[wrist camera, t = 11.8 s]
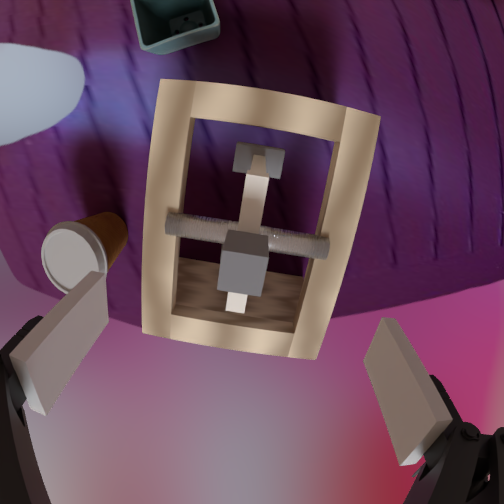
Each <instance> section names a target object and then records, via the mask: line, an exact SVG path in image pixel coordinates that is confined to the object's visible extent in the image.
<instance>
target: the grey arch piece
mask: <svg viewBox="0 0 504 504" xmlns="http://www.w3.org/2000/svg"><path fill="white" fill-rule="evenodd" d="M284 155H285V150H284V149H281V148H275V147H269V146H263V145H257V144H251V143H245V142H237V145H236V151H235V157H234V164H233V171H234V172H241V173H247V174H246V179H245V186H244V192H243V198H242V204H241V211H240V217H239V224H238V230H237V231H236V230H230V229H228V231H227V234H226V238H225V241H224V244H222V248H221V256H220V260H221V261H220V269H219V277H218V285H217V290H221V291H227V292H228V297H227V304H226V310H225V311H231V312H237V313H244V312H245V307H246V301H247V296H248V295H252V296H259V297H261V293H262V288H263V284H264V279H265V274H266V269H267V264H268V259H269V245H268V236H267V235H261V234H259V231H260V225H261V220H262V214H263V209H264V203H265V198H266V192H267V187H268V181H269V177H271V178H277V179H280V176H281V171H282V166H283V160H284Z"/></svg>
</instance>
